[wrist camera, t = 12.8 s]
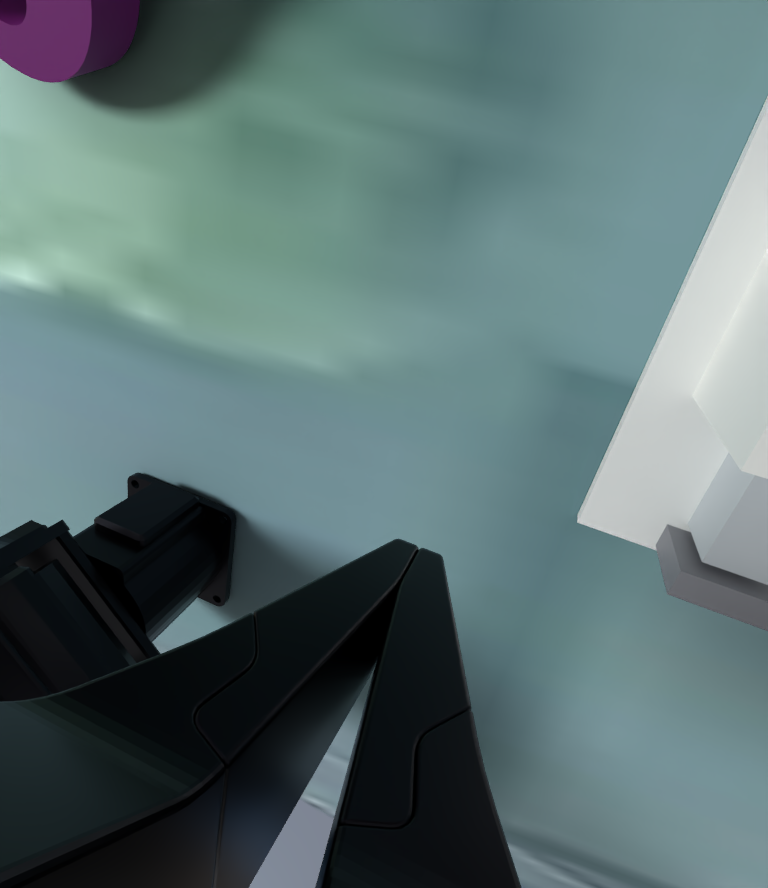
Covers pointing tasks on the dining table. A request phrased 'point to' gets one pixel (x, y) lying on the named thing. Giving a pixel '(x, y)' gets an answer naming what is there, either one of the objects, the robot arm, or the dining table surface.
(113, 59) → the mounting bracket
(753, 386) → the grey slotted block
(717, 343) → the light grey long base
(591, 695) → the dining table surface
